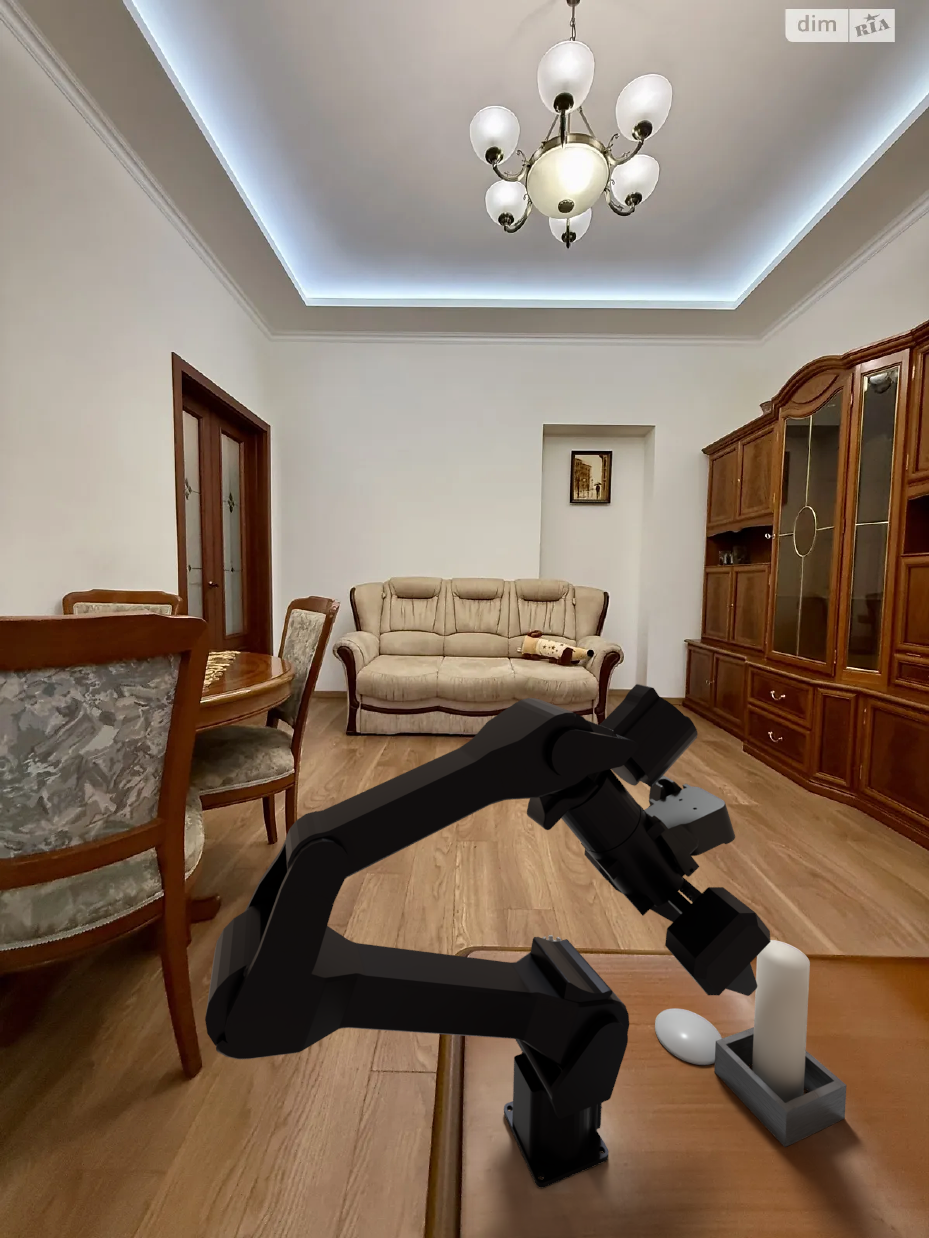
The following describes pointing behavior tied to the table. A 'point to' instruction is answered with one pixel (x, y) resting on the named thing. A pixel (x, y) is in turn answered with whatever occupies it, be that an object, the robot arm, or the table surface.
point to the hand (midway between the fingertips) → (713, 951)
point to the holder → (777, 1116)
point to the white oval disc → (687, 1036)
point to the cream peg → (781, 1019)
